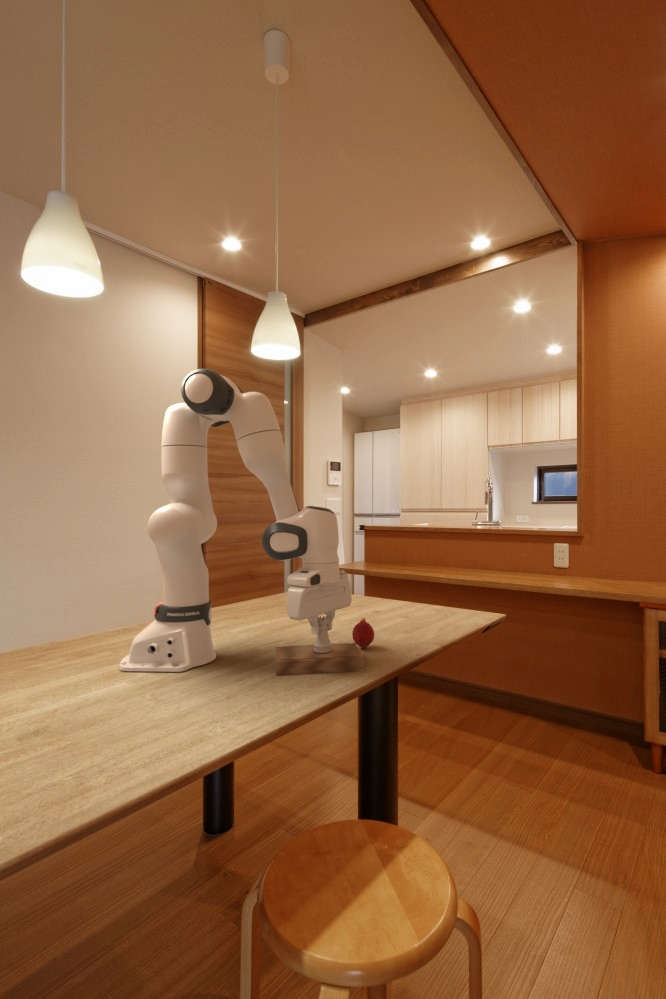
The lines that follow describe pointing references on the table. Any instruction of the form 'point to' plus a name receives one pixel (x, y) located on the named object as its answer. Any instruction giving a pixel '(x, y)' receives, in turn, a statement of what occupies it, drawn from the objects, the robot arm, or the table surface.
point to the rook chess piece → (323, 637)
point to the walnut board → (318, 659)
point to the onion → (363, 634)
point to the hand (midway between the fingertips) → (321, 631)
